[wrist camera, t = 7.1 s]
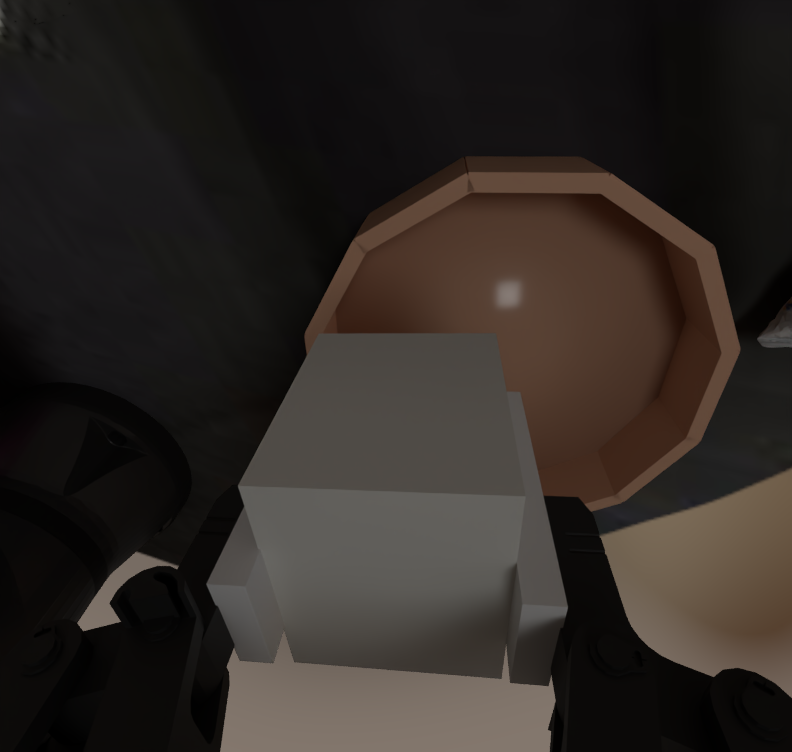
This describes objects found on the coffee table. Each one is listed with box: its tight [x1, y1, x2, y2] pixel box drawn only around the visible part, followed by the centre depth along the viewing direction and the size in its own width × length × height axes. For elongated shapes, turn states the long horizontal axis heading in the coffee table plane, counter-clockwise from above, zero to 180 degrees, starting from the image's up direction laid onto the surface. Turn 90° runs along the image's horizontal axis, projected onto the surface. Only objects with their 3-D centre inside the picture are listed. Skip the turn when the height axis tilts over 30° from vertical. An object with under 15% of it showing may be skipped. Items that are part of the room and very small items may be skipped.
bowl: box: [304, 156, 740, 511], centre depth 27 cm, size 22×22×5 cm
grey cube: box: [238, 333, 526, 679], centre depth 12 cm, size 5×6×6 cm
